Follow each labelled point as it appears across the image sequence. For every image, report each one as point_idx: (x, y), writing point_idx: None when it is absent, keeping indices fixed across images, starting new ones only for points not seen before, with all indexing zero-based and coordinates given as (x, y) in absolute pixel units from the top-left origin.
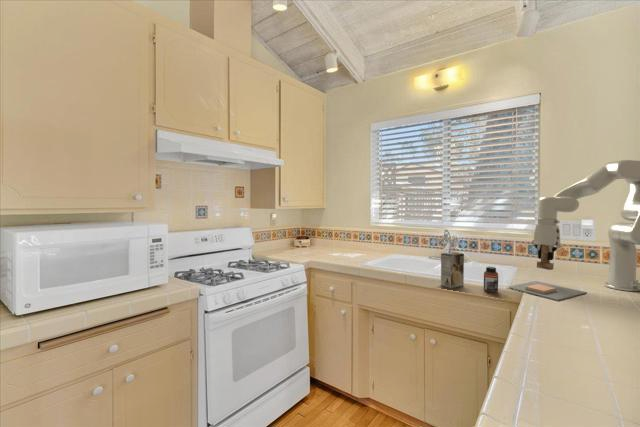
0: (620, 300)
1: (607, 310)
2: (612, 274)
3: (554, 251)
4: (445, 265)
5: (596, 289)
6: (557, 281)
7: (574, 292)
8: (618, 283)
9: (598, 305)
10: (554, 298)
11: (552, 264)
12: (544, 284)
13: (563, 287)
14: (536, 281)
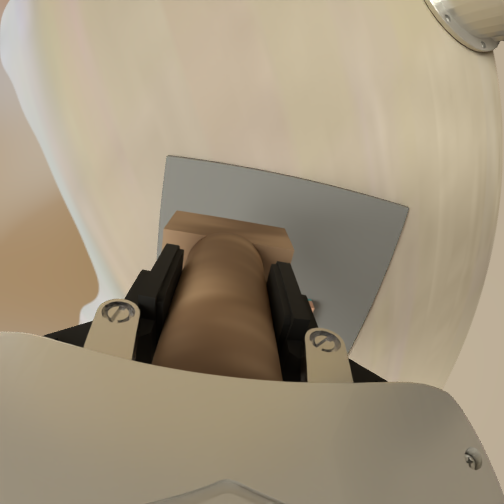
0: (477, 222)
1: (428, 356)
2: (485, 7)
3: (335, 343)
4: None
5: (423, 86)
6: (247, 29)
7: (371, 257)
8: (479, 31)
9: (420, 335)
10: None
11: (287, 262)
12: (231, 205)
13: (321, 194)
14: (174, 165)
